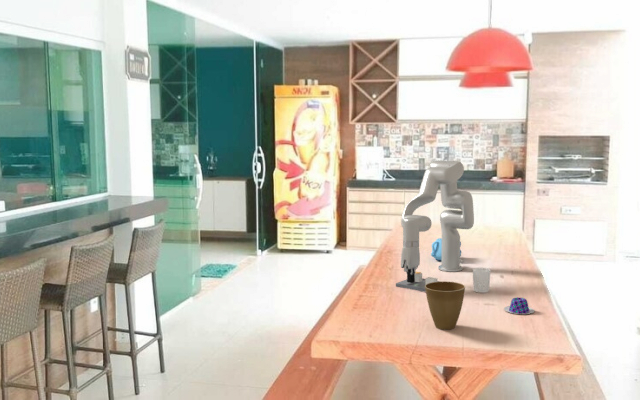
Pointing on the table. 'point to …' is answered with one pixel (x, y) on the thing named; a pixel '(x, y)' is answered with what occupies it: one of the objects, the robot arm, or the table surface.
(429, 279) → the block
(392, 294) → the table surface
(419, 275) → the block
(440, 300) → the plant pot
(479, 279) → the white cup
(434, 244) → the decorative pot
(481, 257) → the table surface
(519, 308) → the purple patterned hat
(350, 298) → the table surface
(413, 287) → the breaker panel
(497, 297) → the table surface
